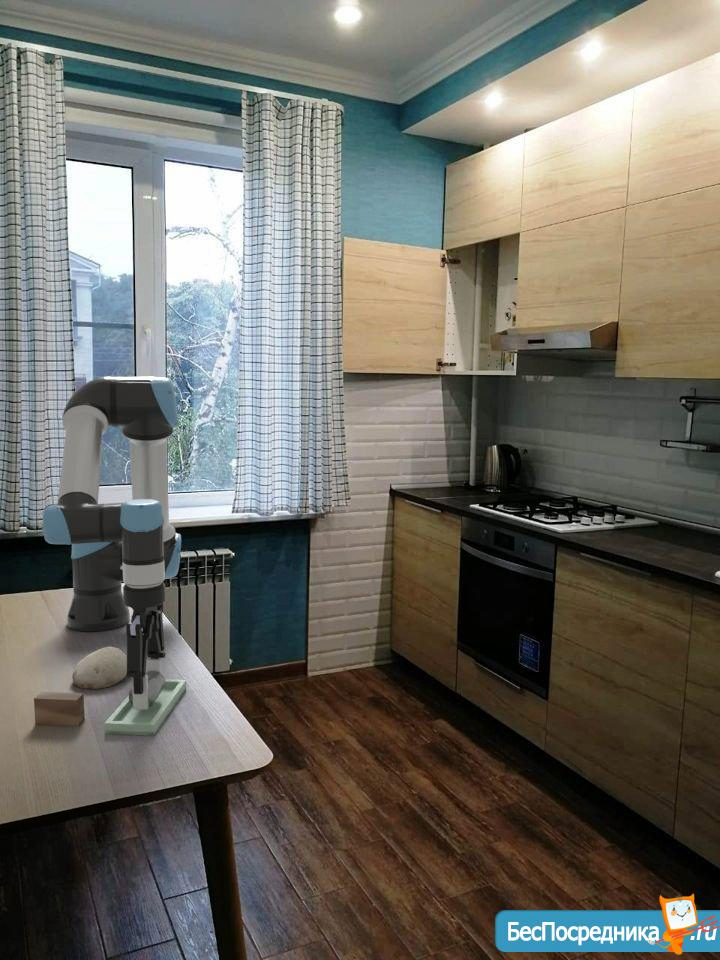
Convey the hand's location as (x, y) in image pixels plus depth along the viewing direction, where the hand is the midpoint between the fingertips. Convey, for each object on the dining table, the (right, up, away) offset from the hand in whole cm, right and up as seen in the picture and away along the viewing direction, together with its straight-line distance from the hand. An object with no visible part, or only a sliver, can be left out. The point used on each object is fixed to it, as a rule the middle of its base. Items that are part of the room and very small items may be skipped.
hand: (147, 699), depth 147 cm
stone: (-14, 0, +15) cm, 21 cm away
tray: (0, -2, 0) cm, 2 cm away
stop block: (-15, -3, -5) cm, 16 cm away
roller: (0, 0, 0) cm, 0 cm away
